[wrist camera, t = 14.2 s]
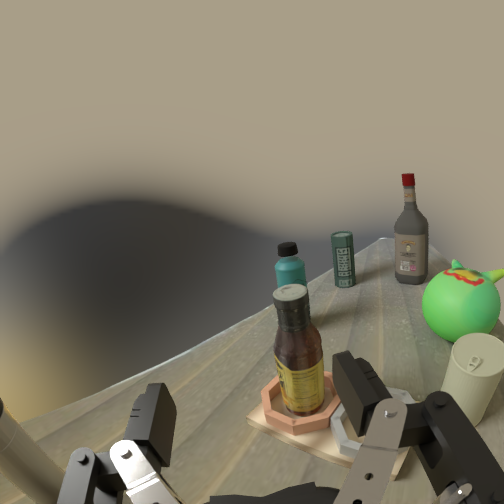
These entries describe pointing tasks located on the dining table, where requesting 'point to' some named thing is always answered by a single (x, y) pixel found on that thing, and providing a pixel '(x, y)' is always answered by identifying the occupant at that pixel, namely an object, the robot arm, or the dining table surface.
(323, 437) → the board
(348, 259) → the can
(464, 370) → the can
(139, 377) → the dining table surface
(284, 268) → the beverage bottle
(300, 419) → the collar terracotta
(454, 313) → the green horned round ornament
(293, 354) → the sauce bottle
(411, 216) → the liquor
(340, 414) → the collar grey
